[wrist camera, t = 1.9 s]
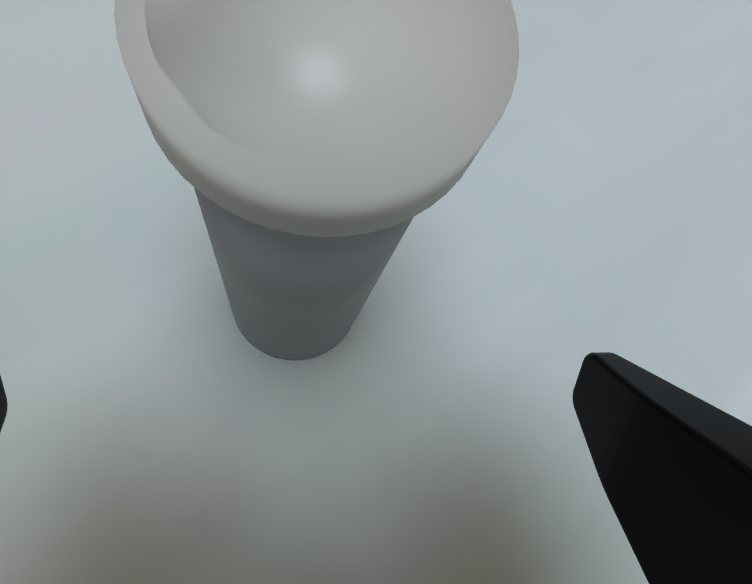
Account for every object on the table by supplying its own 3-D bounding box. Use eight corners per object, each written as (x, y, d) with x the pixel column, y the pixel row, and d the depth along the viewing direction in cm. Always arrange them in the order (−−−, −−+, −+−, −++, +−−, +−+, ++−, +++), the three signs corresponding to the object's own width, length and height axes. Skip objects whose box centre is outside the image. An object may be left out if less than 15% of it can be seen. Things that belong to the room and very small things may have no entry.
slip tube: (395, 313, 21) (593, 72, 8) (278, 400, 20) (282, 283, 6) (310, 205, 22) (363, -186, 9) (191, 281, 20) (28, -50, 7)
